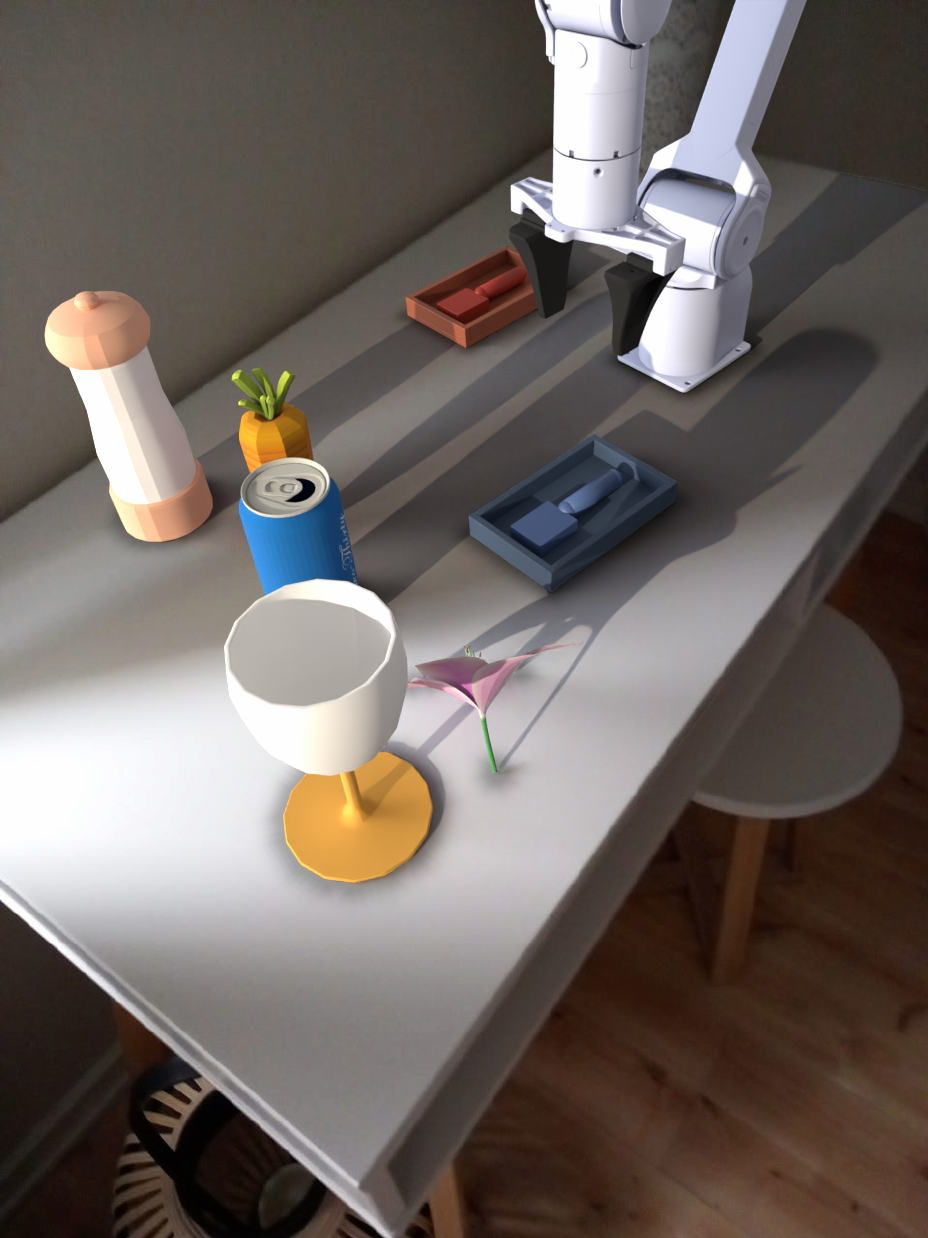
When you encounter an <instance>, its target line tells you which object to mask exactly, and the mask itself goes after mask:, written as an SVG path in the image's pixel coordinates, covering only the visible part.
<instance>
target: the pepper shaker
mask: <svg viewBox="0 0 928 1238" xmlns="http://www.w3.org/2000/svg"><path fill="white" fill-rule="evenodd" d="M44 339H45V341H44V342H45V345H46V347H47V350H48V351H49V353H50V354H51V355H52V356H53V358H55V360H57V361H58V362H59V363H60V364H62V365H64V366H66V367H67V368H69V370H70V372H71V375H72V378H73V380H74V382H75V384H76V387H77V390H78V393H79V395H80V397H81V399H82V401H83V402H82V403H83V404H84V406H85V409H86V411H87V412H86V413H87V416H88V421H89V425H90V429H91V433H92V434H91V435H92V438H93V442H94V447H95V450H96V451H95V452H96V455H97V457H98V459H99V461H100V464H101V465H102V467H103V470H104V472H105V474H106V476H107V478H108V480H109V490H108V491H109V492H108V493H109V496H110V497H111V500H112V503H113V505H114V507H115V509H116V511H117V514H118V516H119V518H120V521H121V522H122V523H121V524H122V525H123V527H124V528H125V530H126V532H127V533H128V534H129V535H131V537H134V538H135V539H138V540H141V541H144V542H153V543H154V542H155V543H156V542H157V543H158V542H159V543H162V542H167V541H172V540H177V539H179V538H182V537H184V536H186V535H189V534H191V533H193V531H196V530H197V529H198V528H200V527H201V526H202V525H203V524H204V523H205V522H206V521H207V520H208V518H209V517H210V516H211V513H212V510H213V508H214V505H213V504H214V503H213V496H212V493H211V490H210V487H209V484H208V480H207V477H206V475H205V473H204V469H203V466H202V465H201V463H200V462H199V460H198V459H197V458H196V457H195V456H194V455H193V452H192V449H191V445H190V443H189V442H190V441H189V439H188V435H187V432H186V429H185V427H184V425H183V423H182V422H181V421H180V418H179V416H178V415H177V413H176V411H175V409H174V407H173V406H172V403H170V400H169V399H168V397H167V395H166V393H165V391H164V390H163V387H162V383H161V381H160V378H159V376H158V373H157V370H156V367H155V365H154V362H153V359H152V356H151V353H150V351H149V348H148V343H149V342H150V339H151V317H150V316H149V315H148V313H147V312H146V310H145V309H144V307H143V306H142V305H141V303H140V302H139V301H137V300H135V299H134V298H133V297H132V296H130V295H128V294H126V293H125V292H120V291H115V290H98V291H92V290H85V291H81V292H79V293H77V294H76V295H75V296H74V297H72V298H70V299H68V300H66V301H64V302H62V303H61V304H59V305H58V306H57V307H56V308H54V309H53V310H52V312H51V313H50V314H49V316H48V317H47V321H46V325H45V331H44Z"/></svg>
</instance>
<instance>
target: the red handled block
mask: <svg viewBox="0 0 928 1238" xmlns="http://www.w3.org/2000/svg"><path fill="white" fill-rule="evenodd" d="M525 279H526V271H525V270H524V268H522V267H515V268H513V269H511V270H510V271H508V272H506V273H504V274H502V275H500V276H498V277H496V278H494V279H492V280H491V281H489V282H487V283H485V284H483V285H481V286H479V287H477V288H476V289H475V291H473V290H471V289H469V288H465V289H463V290H461V291H460V292H458V293H456V294H454V295H452V296H450V297H448V298H446V299H444V300H442V301H440V302H438V303H437V310H439V311H440V312H442V313H444V314H446V315H448V316H450V317H451V318H453V319H455V320H457V321H459V322H461V323H462V324H464V323H466V322H467V321H469V320H471V319H473V318H475V317H477V316H478V315H480V314H482V313H484V312H486V311H488V310H489V300H491V299H493V298H494V297H496V296H498V295H500V294H502V293H504V292H506V291H507V290H509V289H511V288H513V287H515V286H517V285H519V284H521V283H522V282H524V281H525Z"/></svg>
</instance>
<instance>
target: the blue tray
mask: <svg viewBox="0 0 928 1238" xmlns="http://www.w3.org/2000/svg"><path fill="white" fill-rule="evenodd" d="M610 469H615V470H618V471H619V472H620V473H621V474H622V477H623V481H622V484H621V486H620V487H619V488H617V489H616V490H614V491H613V492H612V493H610V494H609V495H607V496H606V497H604V498H603V499H602V500H600V501H599V502H597V503H596V504H594V505H593V506H592V507H590V508H589V509H587V510H586V511H584V512H583V513H582V514H580V515H579V516H577V517H576V519H577V520H578V531H577V532H576V533H575V534H573V535H572V536H570V537H569V538H567V539H566V540H565V541H563V542H562V543H560V544H559V545H558V546H556V547H555V548H553V549H552V550H551V551H549V552H548V553H546V554H545V555H544V556H542V557H539V556H537V555H536V554H534V553H533V552H531V551H530V550H529V549H527V548H526V547H524V546H523V545H521V544H520V543H518V542H517V541H515V540H514V539H513V538H511V532H510V526H511V525H512V524H514V523H515V522H517V521H518V520H520V519H521V518H523V517H524V516H526V515H527V514H529V513H530V512H532V511H533V510H534V509H536V508H537V507H539V506H540V505H542V504H543V503H545V502H546V501H549V502H551V503H552V504H554V505H556V506H557V507H558V505H559V504H560V503H561V502H562V501H563V500H565V499H566V498H568V497H569V496H571V495H572V494H574V493H575V492H576V491H578V490H579V489H581V488H582V487H584V486H585V485H587V484H588V483H590V482H591V481H593V480H594V479H595V478H597V477H598V476H600V475H601V474H603V473H604V472H606V471H607V470H610ZM678 484H679V481H677V480H675V479H673V478H672V477H671V476H668V474H665V473H663V472H661V471H660V470H659V469H656V468H654V467H652V466H651V465H649V464H647V463H646V462H644V461H642V460H640V459H639V458H637V457H635V456H634V455H632V454H630V453H628V452H627V451H625V450H623V449H621V448H620V447H618V446H616V445H615V444H612V443H611V442H609V441H608V440H606V439H604V438H602V437H600V436H599V435H597V434H595V433H593V434H592V435H589V437H587V438H586V439H584V440H583V441H580V442H579V443H577V444H576V445H575V446H573V447H572V448H570V449H569V450H567V451H566V452H564V453H562V454H561V455H560V456H558V457H556V458H555V459H553V460H552V461H550V462H548V463H547V464H546V465H544V466H543V467H541V468H539V469H538V470H536V471H535V472H533V473H532V474H530V475H529V476H528V477H526V478H524V479H523V480H521V481H520V482H518V483H516V484H515V485H514V486H512V487H510V488H509V489H507V490H505V492H503V493H501V494H500V495H499V496H498V495H497V497H495V498H494V499H492V500H491V501H489V502H488V503H486V504H485V505H483V506H481V507H480V508H478V509H477V510H476V511H474V512H472V513H471V514H469V515H468V523H469V535H470V536H471V537H472V538H473V539H475V540H476V541H478V542H480V544H481V545H484V546H485V547H486V548H487V549H489V550H491V551H492V552H493V553H495V554H496V555H497V556H498V557H500V558H502V559H503V560H504V561H506V562H507V563H509V564H510V565H511V566H513V567H514V568H516V569H517V570H519V572H521V573H523V574H524V575H526V576H527V577H528V578H530V579H531V580H532V581H534V582H535V583H537V584H539V585H540V586H541V587H542V588H544V589H545V590H547V591H548V592H549V593H553V592H554V591H556V590H557V589H559V588H560V587H561V586H563V585H564V584H565V583H566V582H568V581H569V580H570V579H572V578H574V577H575V576H576V575H577V574H579V573H580V572H582V571H583V570H585V568H587V567H588V566H589V565H592V563H594V562H595V561H596V560H598V559H599V558H601V557H602V556H603V555H605V554H607V552H609V551H611V550H612V549H613V548H614V547H616V546H617V545H618V544H620V543H622V541H624V540H625V539H626V538H627V537H629V536H630V535H632V534H633V533H635V532H636V531H638V530H639V529H640V528H642V527H643V526H644V525H646V524H647V523H648V522H650V521H651V520H652V519H654V518H655V517H657V516H658V515H659V514H661V513H662V512H663V511H665V510H666V509H667V508H669V507H671V505H673V504H675V503H676V501H677V494H678Z"/></svg>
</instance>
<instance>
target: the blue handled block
mask: <svg viewBox="0 0 928 1238" xmlns="http://www.w3.org/2000/svg"><path fill="white" fill-rule="evenodd" d="M622 481H623V477H622V474H621V473H620V472H619V471H618V470H615V469H610V470H607V471H606V472H604V473H603V474H601V475H600V476H598V477H597V478H595V479H594V480H593V481H591V482H590V483H588V484H587V485H585V486H584V487H582V488H581V489H579V490H578V491H576V492H575V493H574V494H572V495H571V496H569V497H568V498H566V499H565V500H563V501H562V502H561V503H560V504H559V505H558V507H557V506H556V505H554V504H552V503H551V502H549V501H546V502H545V503H543V504H542V505H540V506H539V507H537V508H536V509H534V510H533V511H532V512H530V513H529V514H527V515H526V516H524V517H523V518H521V519H520V520H518V521H517V522H515V523H514V524H512V525H511V526H510V532H511V538H513V539H514V540H515V541H517V542H518V543H520V544H521V545H523V546H524V547H526V548H527V549H529V550H530V551H531V552H533V553H534V554H536V555H537V556H539V557H542V556H544V555H545V554H546V553H548V552H549V551H551V550H552V549H553V548H555V547H556V546H558V545H559V544H560V543H562V542H563V541H565V540H566V539H567V538H569V537H570V536H572V535H573V534H575V533H576V532H577V531H578V520H577V519H576V517H577V516H579V515H580V514H582V513H583V512H584V511H586V510H587V509H589V508H590V507H592V506H593V505H594V504H596V503H597V502H599V501H600V500H602V499H603V498H604V497H606V496H607V495H609V494H610V493H612V492H613V491H614V490H616V489H617V488H619V487H620V486H621V484H622Z"/></svg>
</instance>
